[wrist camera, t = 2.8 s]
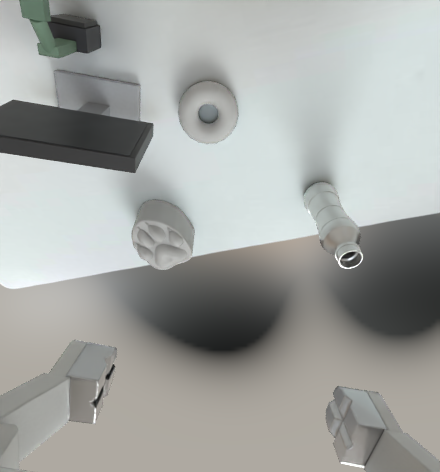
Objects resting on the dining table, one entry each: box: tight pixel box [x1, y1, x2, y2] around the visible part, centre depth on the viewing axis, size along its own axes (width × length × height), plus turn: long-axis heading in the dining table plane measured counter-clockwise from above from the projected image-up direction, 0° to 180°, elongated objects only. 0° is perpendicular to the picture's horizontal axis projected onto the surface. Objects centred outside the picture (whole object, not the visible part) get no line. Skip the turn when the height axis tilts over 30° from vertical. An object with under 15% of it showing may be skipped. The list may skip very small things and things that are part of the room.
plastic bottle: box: [304, 182, 363, 268], centre depth 54 cm, size 6×7×20 cm
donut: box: [178, 81, 238, 144], centre depth 51 cm, size 10×3×10 cm
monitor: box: [0, 70, 153, 173], centre depth 44 cm, size 10×20×20 cm, turn 80°
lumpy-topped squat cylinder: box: [132, 200, 195, 270], centre depth 63 cm, size 10×13×9 cm
